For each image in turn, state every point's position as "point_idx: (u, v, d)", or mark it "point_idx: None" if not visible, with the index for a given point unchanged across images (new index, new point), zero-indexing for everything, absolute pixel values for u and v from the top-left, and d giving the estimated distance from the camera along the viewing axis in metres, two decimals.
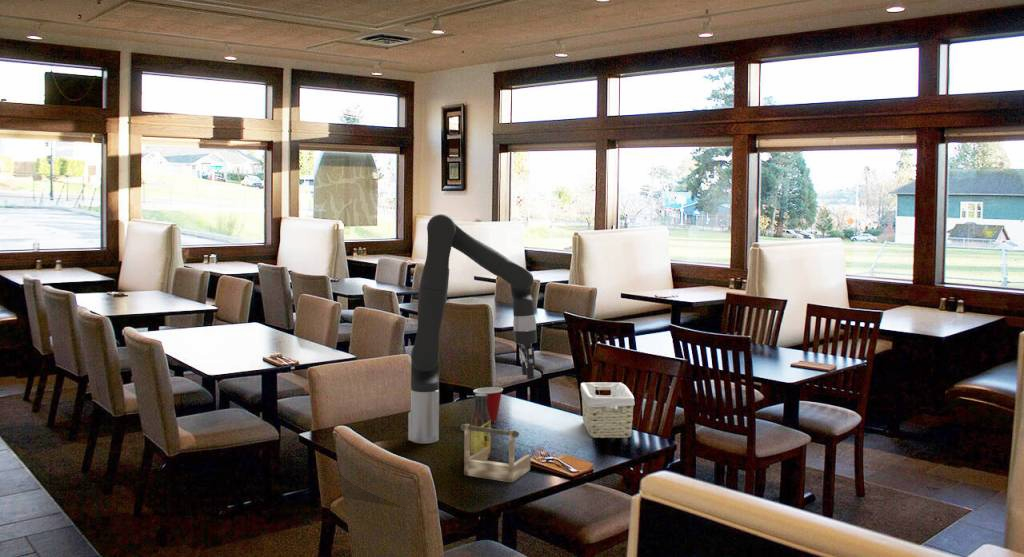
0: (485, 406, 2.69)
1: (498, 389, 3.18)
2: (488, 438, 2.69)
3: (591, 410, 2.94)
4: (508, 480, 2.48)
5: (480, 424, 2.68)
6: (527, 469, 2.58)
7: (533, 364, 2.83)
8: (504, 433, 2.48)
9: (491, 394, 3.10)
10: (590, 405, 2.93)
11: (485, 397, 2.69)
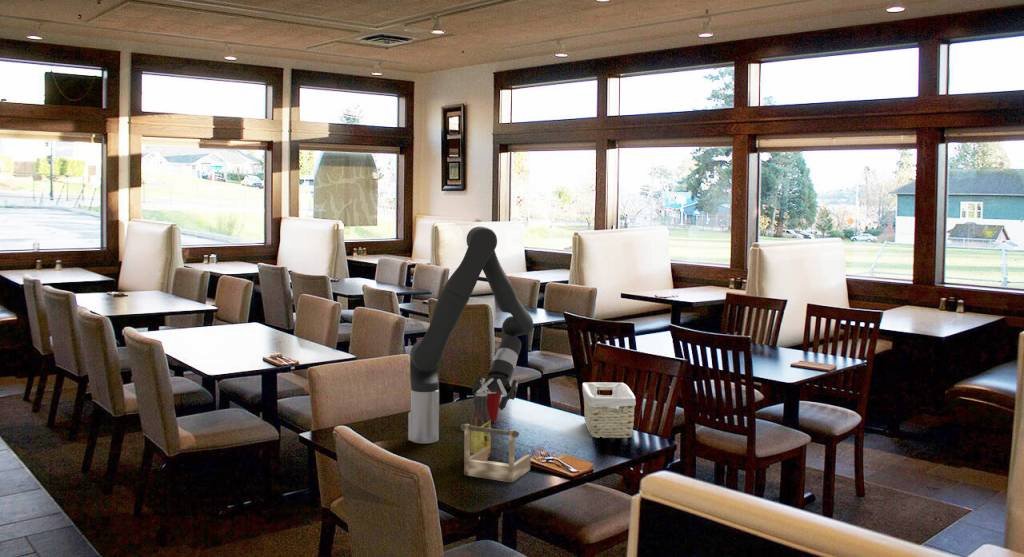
0: (485, 406, 2.69)
1: None
2: (488, 438, 2.69)
3: (592, 410, 2.94)
4: (508, 480, 2.48)
5: (480, 424, 2.68)
6: (527, 469, 2.58)
7: (514, 397, 2.76)
8: (504, 433, 2.48)
9: (491, 394, 3.10)
10: (591, 405, 2.93)
11: (485, 397, 2.69)
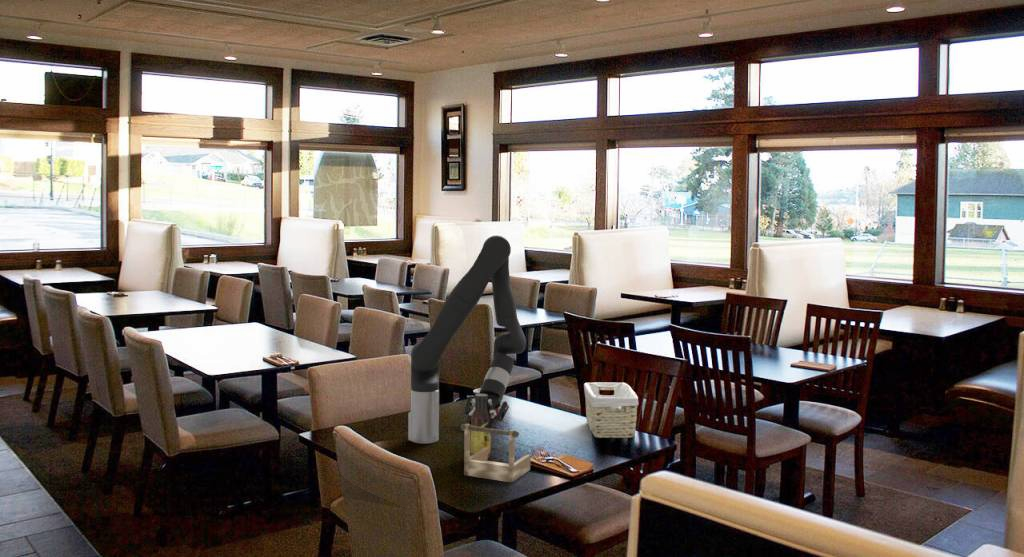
0: (485, 406, 2.69)
1: None
2: (488, 438, 2.69)
3: (595, 410, 2.94)
4: (508, 480, 2.48)
5: (480, 424, 2.68)
6: (527, 469, 2.58)
7: (501, 419, 2.70)
8: (504, 433, 2.48)
9: None
10: (594, 405, 2.93)
11: (485, 397, 2.69)
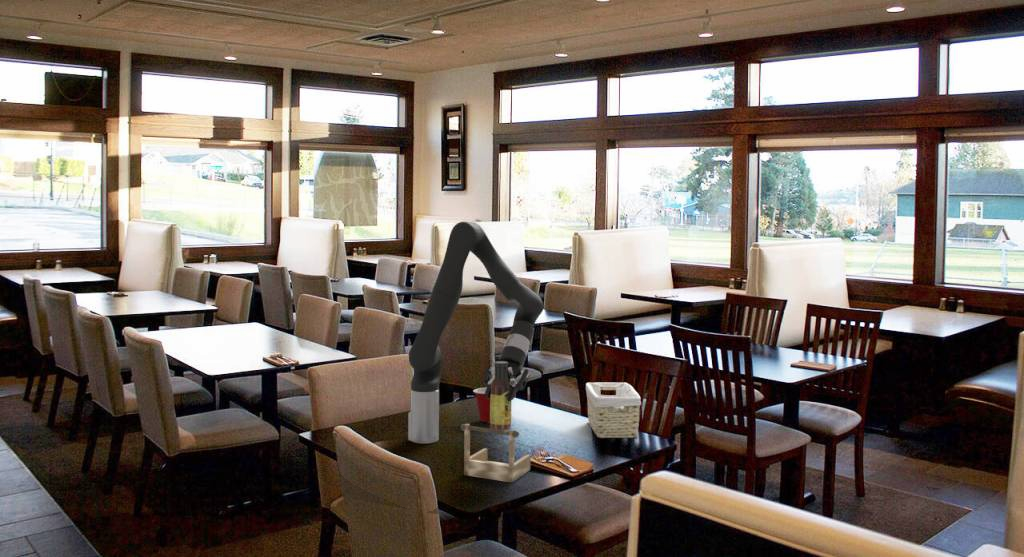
0: (505, 374, 2.55)
1: None
2: (509, 408, 2.55)
3: (598, 410, 2.94)
4: (508, 480, 2.48)
5: (501, 392, 2.53)
6: (527, 469, 2.58)
7: (523, 387, 2.56)
8: (504, 433, 2.48)
9: None
10: (597, 405, 2.93)
11: (505, 364, 2.54)
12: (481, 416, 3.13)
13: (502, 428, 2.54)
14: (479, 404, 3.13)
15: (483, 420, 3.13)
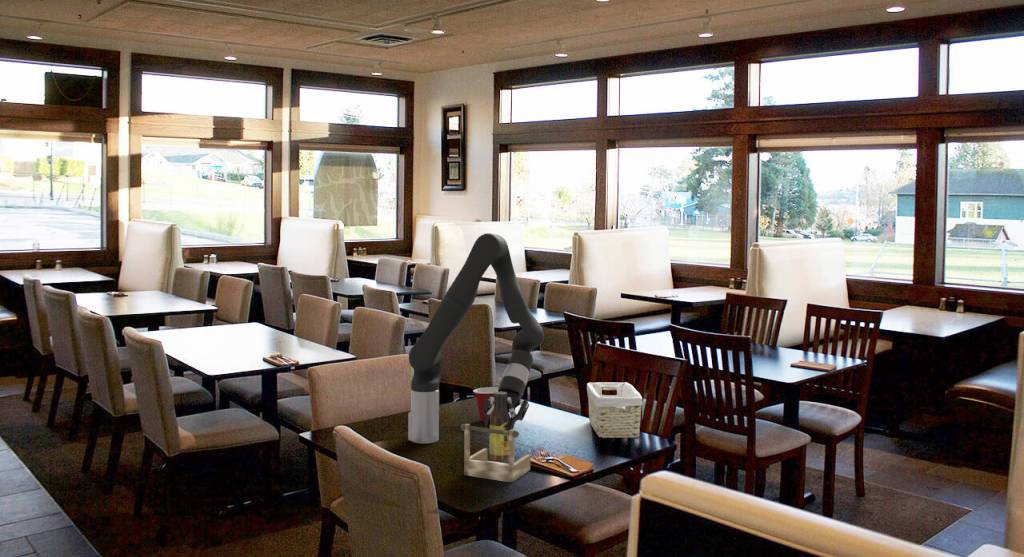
0: (504, 404, 2.55)
1: None
2: (508, 438, 2.55)
3: (599, 410, 2.94)
4: (508, 480, 2.48)
5: (500, 423, 2.54)
6: (527, 469, 2.58)
7: (522, 418, 2.56)
8: (504, 433, 2.48)
9: (491, 394, 3.10)
10: (598, 405, 2.93)
11: (504, 395, 2.55)
12: (481, 416, 3.13)
13: (501, 459, 2.55)
14: (479, 404, 3.13)
15: (483, 420, 3.13)
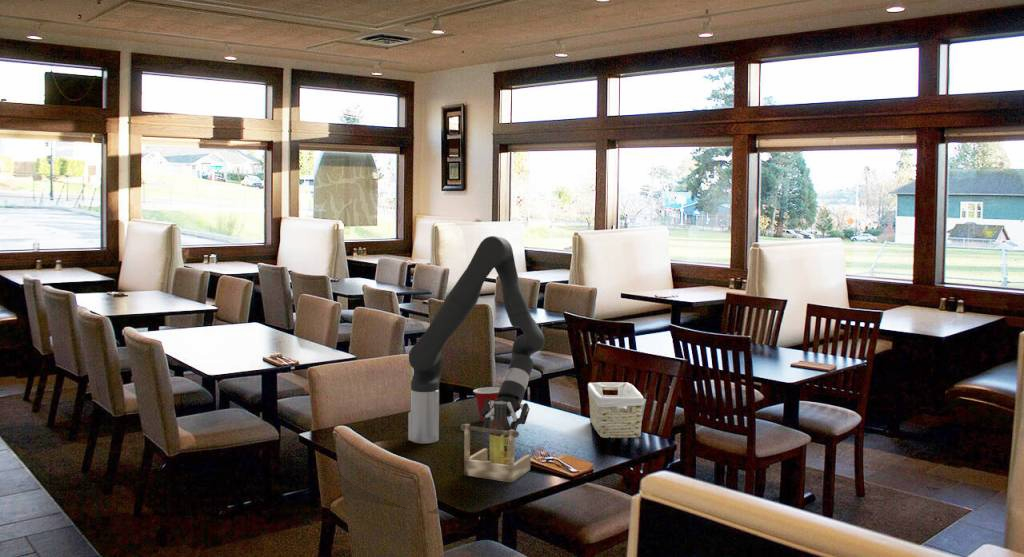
0: (505, 414, 2.56)
1: (498, 389, 3.18)
2: (508, 448, 2.56)
3: (601, 410, 2.94)
4: (508, 480, 2.48)
5: None
6: (527, 469, 2.58)
7: (524, 421, 2.56)
8: (504, 433, 2.48)
9: (491, 394, 3.10)
10: (600, 405, 2.93)
11: (504, 405, 2.55)
12: (481, 416, 3.13)
13: None
14: (479, 404, 3.13)
15: (483, 420, 3.13)
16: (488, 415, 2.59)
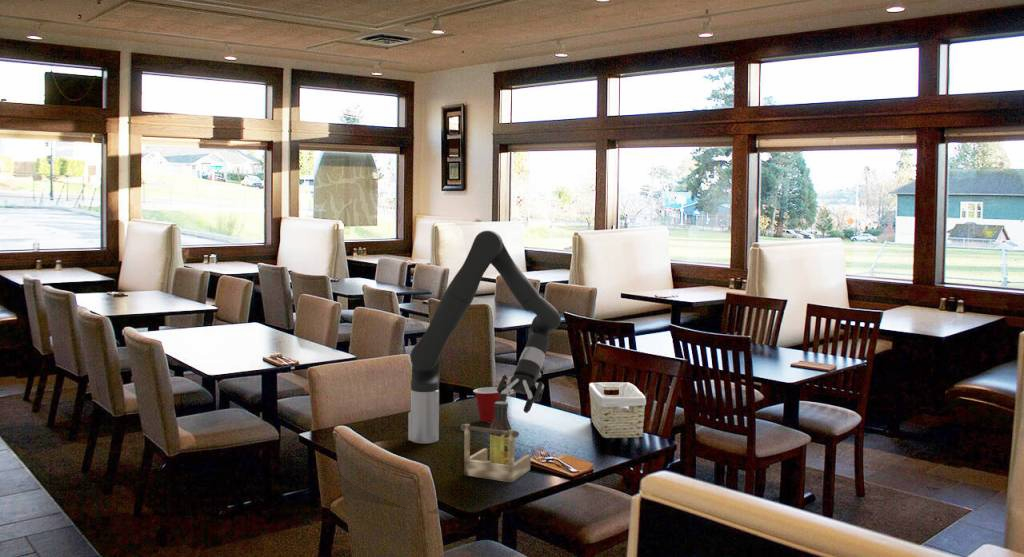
0: (505, 414, 2.56)
1: None
2: (508, 448, 2.56)
3: (603, 410, 2.94)
4: (508, 480, 2.48)
5: None
6: (527, 469, 2.58)
7: (539, 399, 2.68)
8: (504, 433, 2.48)
9: (491, 394, 3.10)
10: (602, 405, 2.93)
11: (505, 405, 2.55)
12: (481, 416, 3.13)
13: None
14: (479, 404, 3.13)
15: (483, 420, 3.13)
16: (504, 391, 2.71)
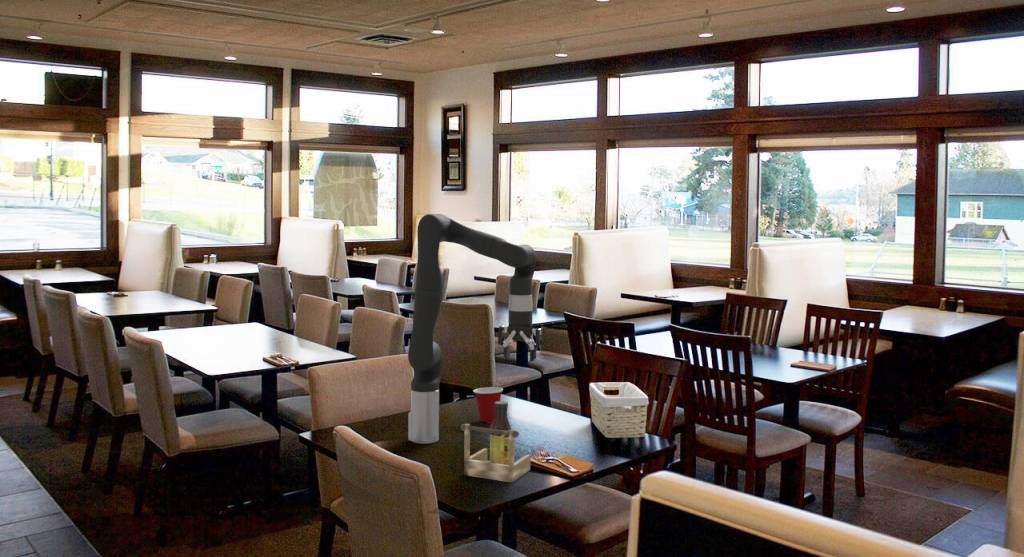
0: (505, 414, 2.56)
1: (498, 389, 3.18)
2: (508, 448, 2.56)
3: (606, 410, 2.94)
4: (508, 480, 2.48)
5: None
6: (527, 469, 2.58)
7: (541, 345, 2.71)
8: (504, 433, 2.48)
9: (491, 394, 3.10)
10: (605, 405, 2.93)
11: (505, 405, 2.55)
12: (481, 416, 3.13)
13: None
14: (479, 404, 3.13)
15: (483, 420, 3.13)
16: (505, 344, 2.74)
